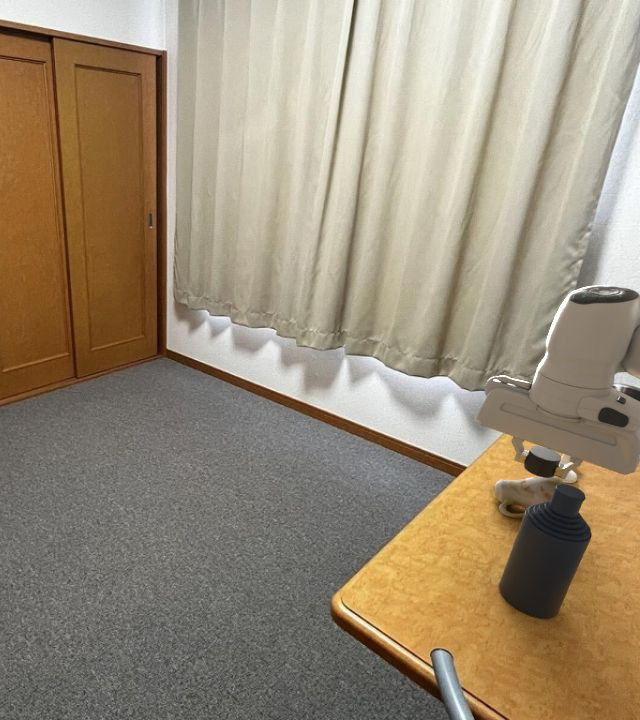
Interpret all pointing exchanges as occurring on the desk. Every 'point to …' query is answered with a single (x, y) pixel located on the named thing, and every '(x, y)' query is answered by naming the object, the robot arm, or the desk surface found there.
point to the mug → (525, 492)
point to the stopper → (542, 461)
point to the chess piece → (571, 475)
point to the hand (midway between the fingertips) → (539, 468)
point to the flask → (546, 554)
